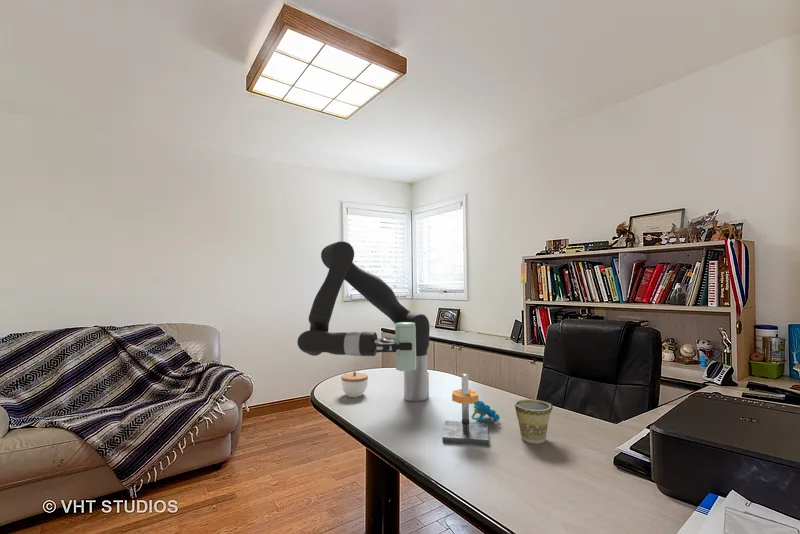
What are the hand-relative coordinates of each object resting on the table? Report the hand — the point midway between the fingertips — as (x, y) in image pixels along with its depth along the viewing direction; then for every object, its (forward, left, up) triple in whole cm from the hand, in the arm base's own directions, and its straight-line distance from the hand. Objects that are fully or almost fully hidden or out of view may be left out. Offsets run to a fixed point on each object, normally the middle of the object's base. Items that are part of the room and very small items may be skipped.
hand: (413, 344), depth 121 cm
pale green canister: (+1, -2, -8) cm, 8 cm away
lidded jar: (-15, -42, -27) cm, 52 cm away
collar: (-8, +14, -16) cm, 22 cm away
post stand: (-8, +14, -27) cm, 31 cm away
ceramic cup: (-19, +31, -27) cm, 45 cm away
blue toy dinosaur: (-22, +12, -27) cm, 37 cm away
